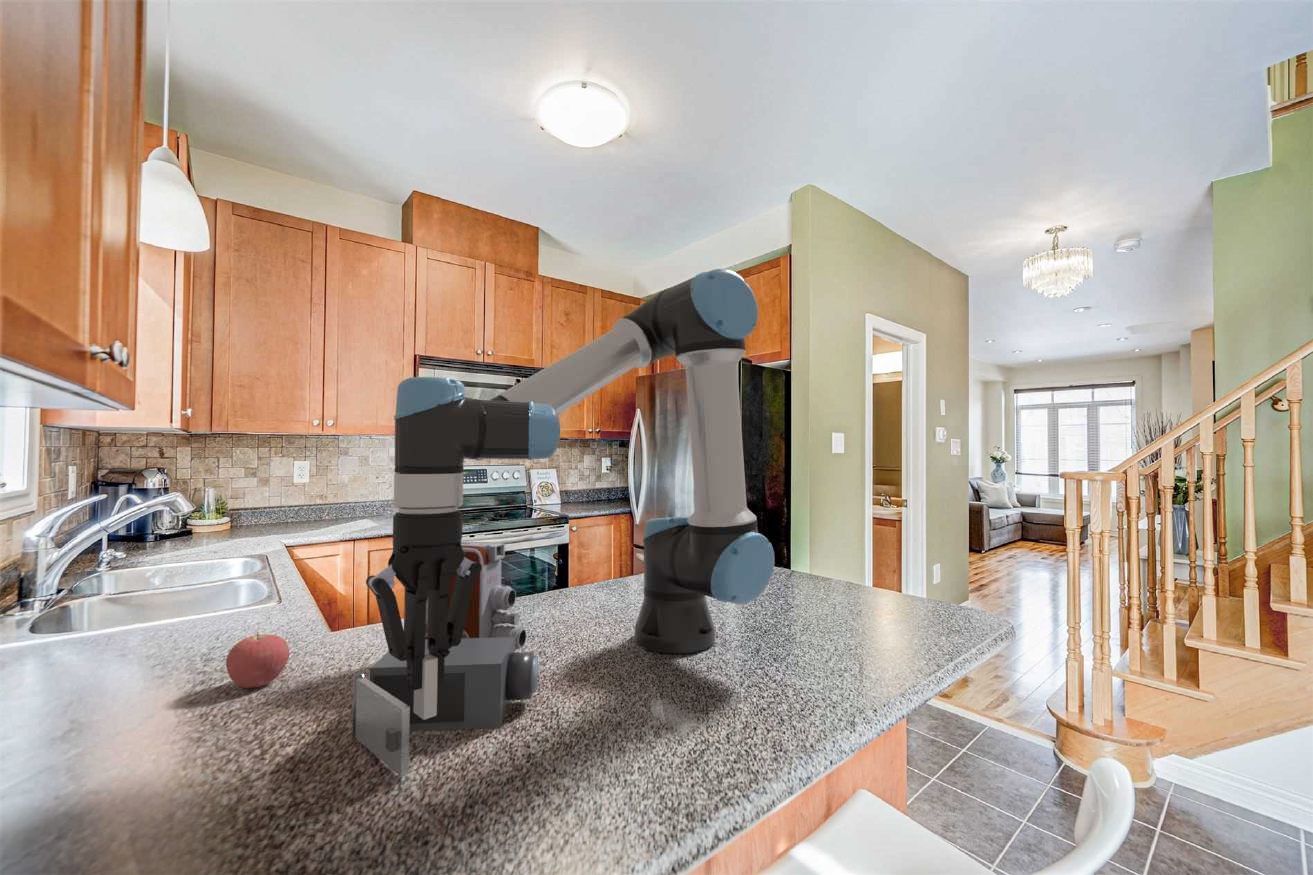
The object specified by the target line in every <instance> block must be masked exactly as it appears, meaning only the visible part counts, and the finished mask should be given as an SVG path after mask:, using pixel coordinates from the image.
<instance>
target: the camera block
mask: <svg viewBox="0 0 1313 875" xmlns="http://www.w3.org/2000/svg"><path fill="white" fill-rule="evenodd" d="M427 645H428V640H425V653H429V650H428V647H427ZM448 650H449V651H450V653H449V655H448V656H447V657H445V661H444V679H443V681H442V682H439V683H437V715H436V716H433V717H431V718H428V719H425V720H423V719H422V718H420V717H419V716H418V715H416V714H415V713H414V691H413V690H412V689H410V688H409V687H408V686H407V660H404V661H400V660H398V659H397V658H395V657H393V656H392V655H390V653H389V651H388V652H386V653H385V654H384V655H383V656H382V657H381V658H379V660H377V661H376V662H375V663H374V664H373V665H371V666H370V668H369V681H371V682H372V683H374V684H375V685H377V686H379V687H380V688H382V689H383V690H385V691H386V692H388V693H389V694H391V695H392V696H394V697H395V698H397V699H399V700H400V701H402V702H403V703H405V704H406V705H408V706H409V707H410V722H409V733H411V732H430V731H431V732H432V731H433V732H435V731H453V730H455V731H456V730H457V731H458V730H475V729H476V730H480V729H498V728H499V729H500V728H502V725H503V722H504V719H505V717H506V715H507V712H508V710H509V708H510V705H511V702H512V701H521V700H522V701H525V700H531V699H532V696H533V693H534V694H535V693H537V689H538V688H537V687H538V680H539V660H538V658H537V657H535V652H534V651H527V652H526V651H522V652H521V651H520V652H516V649H515V637H497V638H463V639H461V642H460V644H459V645H458V646H453V647H451V648H450V649H448Z"/></svg>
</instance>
